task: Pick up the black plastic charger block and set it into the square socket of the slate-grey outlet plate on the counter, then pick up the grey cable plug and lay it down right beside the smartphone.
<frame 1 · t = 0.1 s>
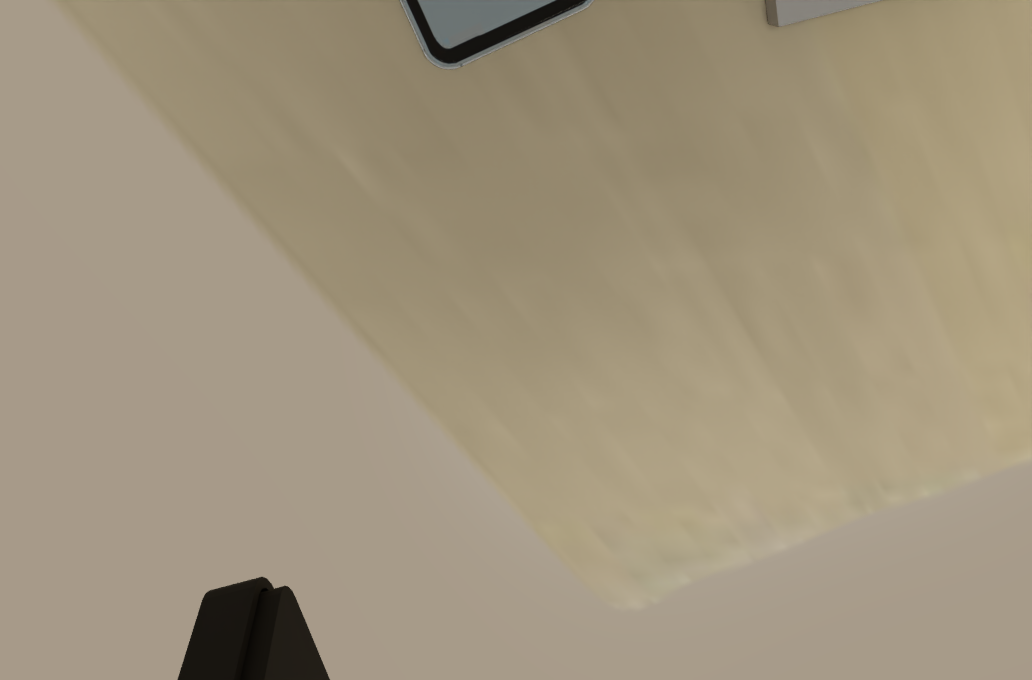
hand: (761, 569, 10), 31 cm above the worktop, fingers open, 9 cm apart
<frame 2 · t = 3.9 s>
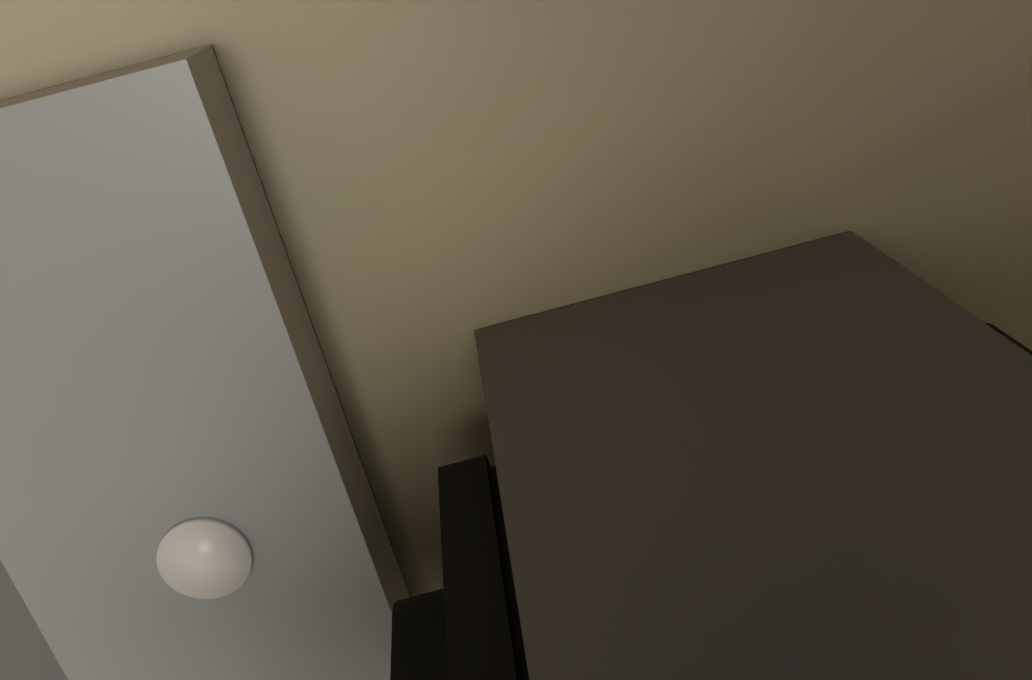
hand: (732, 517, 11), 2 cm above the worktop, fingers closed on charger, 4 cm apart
charger: (693, 444, 12), on the worktop, touching gripper
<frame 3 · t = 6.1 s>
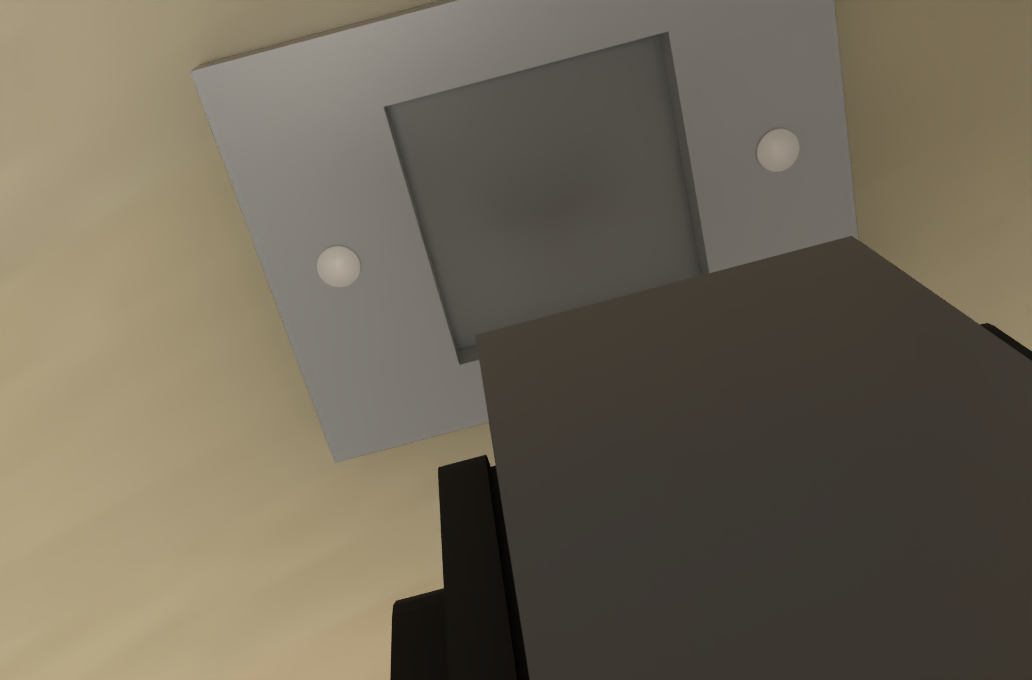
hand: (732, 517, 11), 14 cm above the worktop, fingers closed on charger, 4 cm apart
outlet plate: (551, 195, 24), on the worktop
charger: (694, 448, 12), point 13 cm above the worktop, touching gripper
when the fingers open (3 cm above the worktop, at t = 8.4 s): charger stays where it is, resting on outlet plate.
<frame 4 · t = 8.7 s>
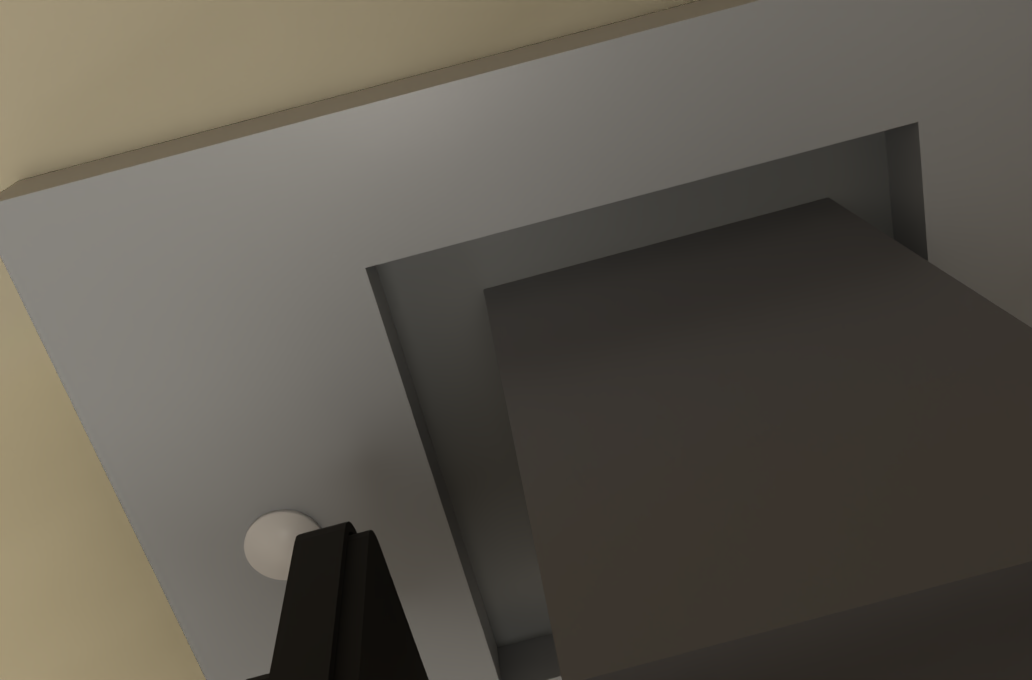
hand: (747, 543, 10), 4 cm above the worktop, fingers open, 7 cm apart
outlet plate: (665, 395, 13), on the worktop
charger: (685, 397, 13), resting on outlet plate
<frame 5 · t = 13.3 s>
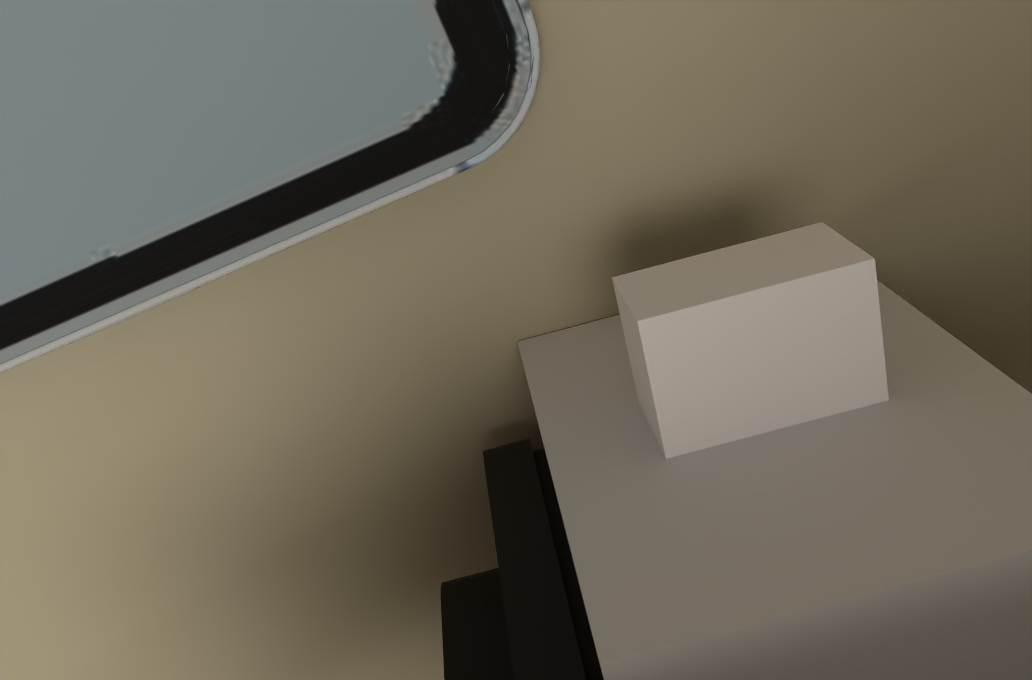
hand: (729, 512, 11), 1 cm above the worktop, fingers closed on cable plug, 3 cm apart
cable plug: (716, 492, 11), on the worktop, touching gripper
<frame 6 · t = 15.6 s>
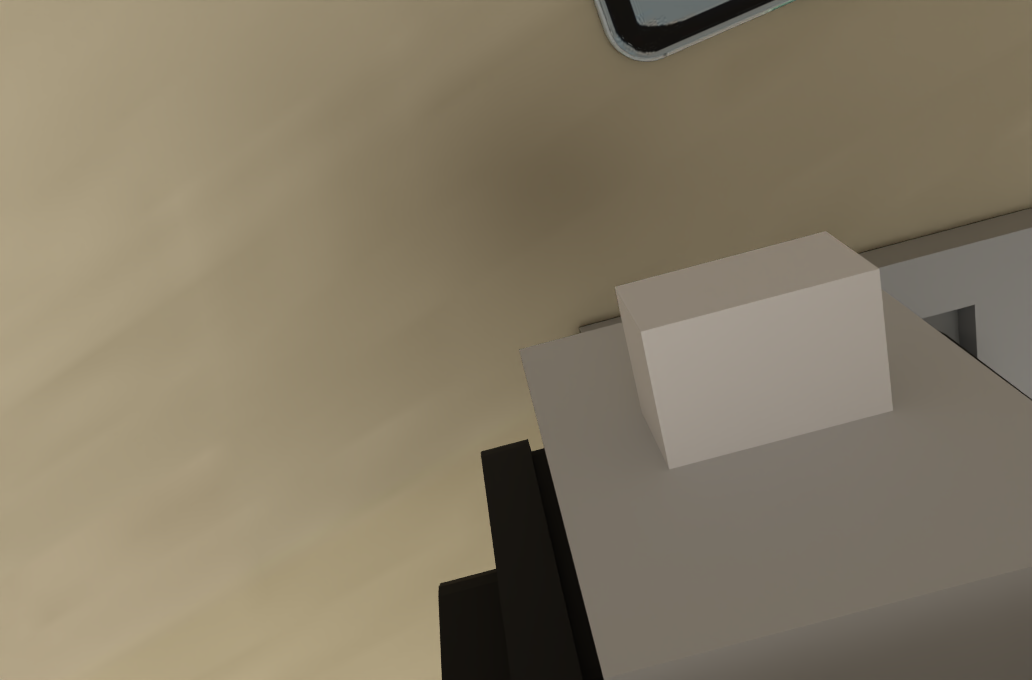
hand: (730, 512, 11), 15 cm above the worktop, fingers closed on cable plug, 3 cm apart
cable plug: (719, 500, 11), point 15 cm above the worktop, touching gripper
outlet plate: (849, 419, 28), on the worktop
when the fingers open (2 cm above the worktop, at t = 18.3 s): cable plug drops 1 cm, on the worktop.
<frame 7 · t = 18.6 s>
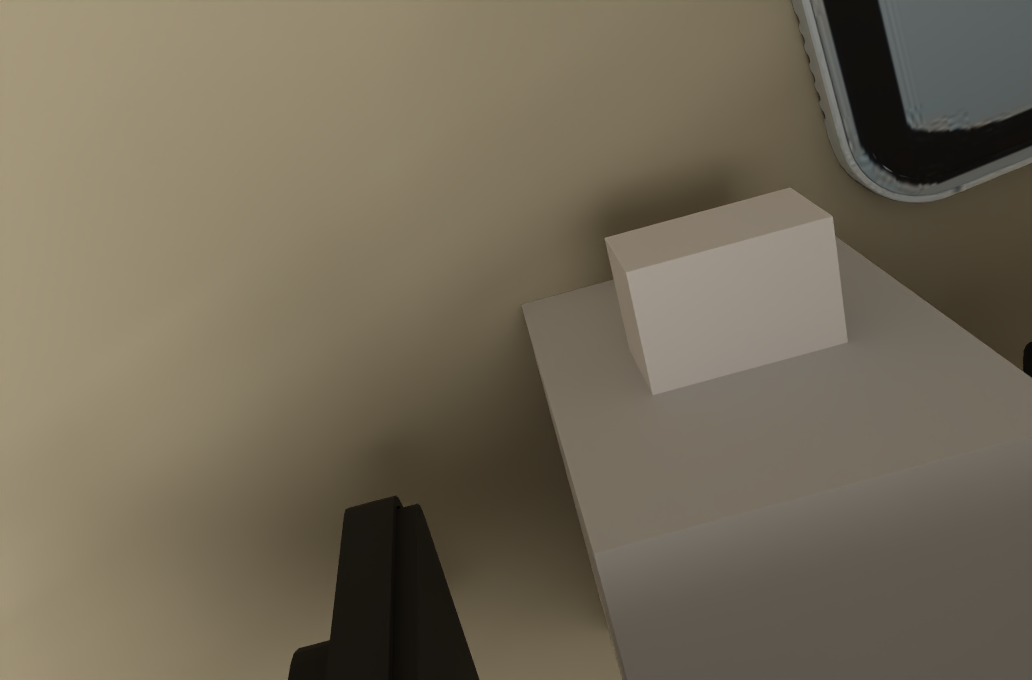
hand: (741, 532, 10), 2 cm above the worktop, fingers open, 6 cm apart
cable plug: (703, 441, 12), on the worktop
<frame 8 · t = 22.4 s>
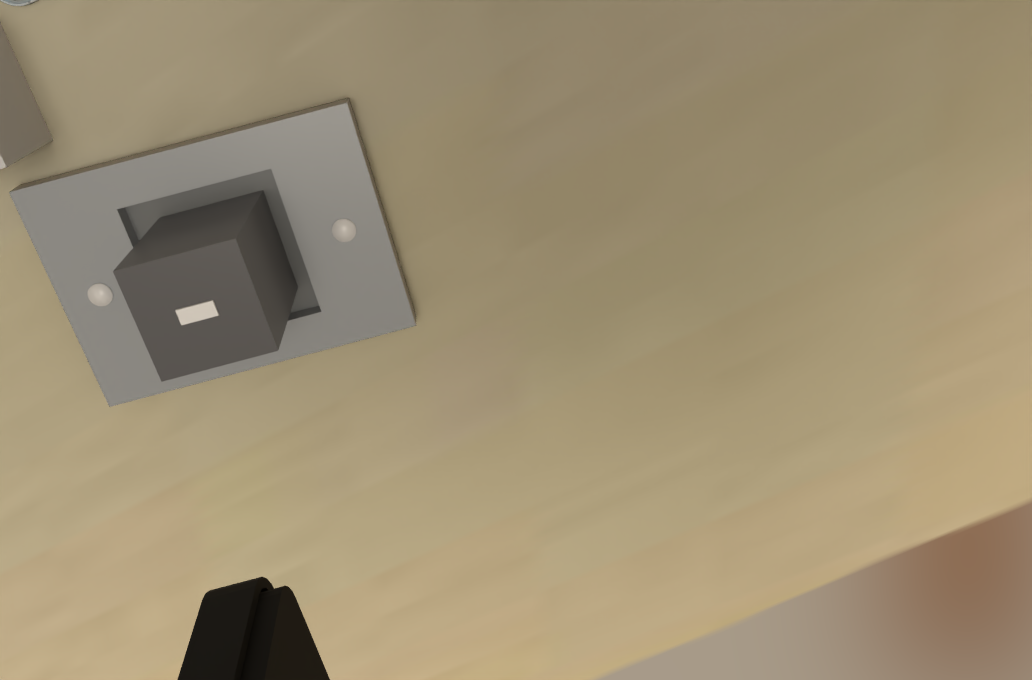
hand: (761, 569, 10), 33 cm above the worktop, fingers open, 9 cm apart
outlet plate: (227, 253, 42), on the worktop
charger: (230, 253, 42), resting on outlet plate
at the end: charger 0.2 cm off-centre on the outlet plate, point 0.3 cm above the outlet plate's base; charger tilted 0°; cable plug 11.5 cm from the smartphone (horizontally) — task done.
